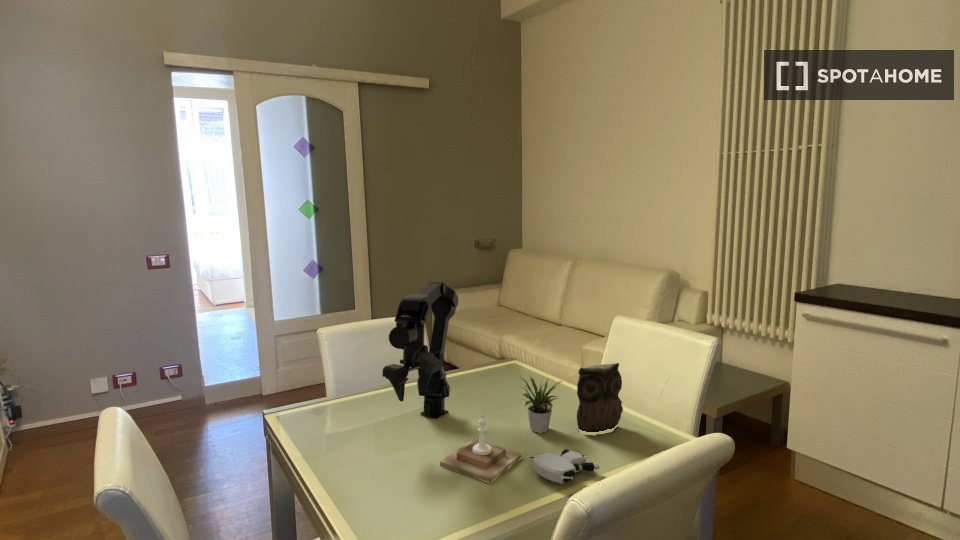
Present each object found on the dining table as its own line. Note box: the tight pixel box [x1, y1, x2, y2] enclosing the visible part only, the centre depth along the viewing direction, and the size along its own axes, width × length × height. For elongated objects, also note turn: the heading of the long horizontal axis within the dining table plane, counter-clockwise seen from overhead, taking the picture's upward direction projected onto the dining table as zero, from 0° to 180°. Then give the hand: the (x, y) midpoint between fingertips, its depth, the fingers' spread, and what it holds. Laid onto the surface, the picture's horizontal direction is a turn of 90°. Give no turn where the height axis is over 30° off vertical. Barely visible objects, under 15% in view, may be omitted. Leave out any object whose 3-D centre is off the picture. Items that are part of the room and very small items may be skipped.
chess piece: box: [472, 412, 492, 455], centre depth 132 cm, size 5×5×10 cm
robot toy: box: [526, 448, 601, 484], centre depth 128 cm, size 12×4×15 cm
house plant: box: [516, 375, 563, 434], centre depth 152 cm, size 14×14×16 cm
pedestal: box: [439, 438, 523, 484], centre depth 133 cm, size 15×15×3 cm
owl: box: [576, 362, 624, 432], centre depth 151 cm, size 13×13×20 cm
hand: (412, 397), depth 145 cm, fingers open, 9 cm apart
